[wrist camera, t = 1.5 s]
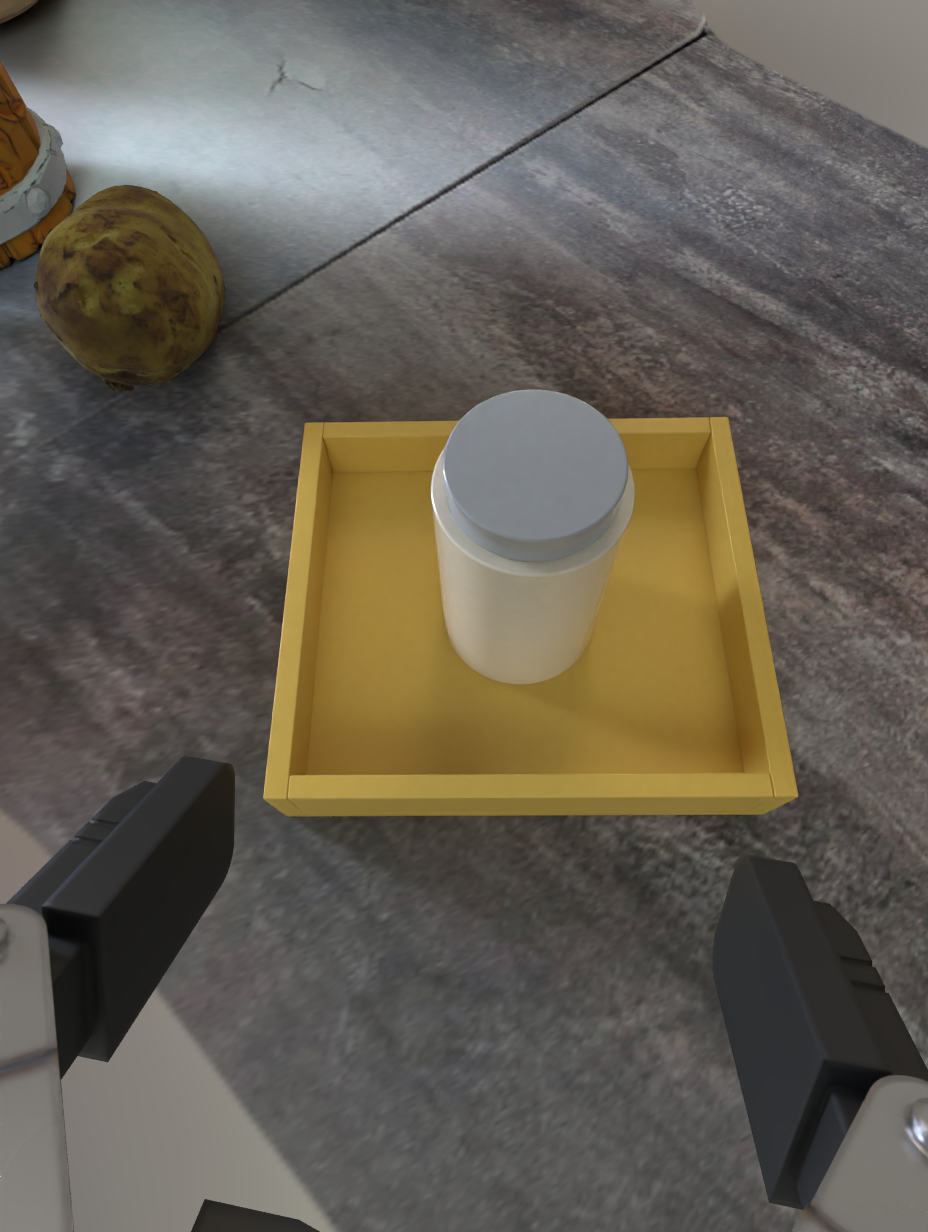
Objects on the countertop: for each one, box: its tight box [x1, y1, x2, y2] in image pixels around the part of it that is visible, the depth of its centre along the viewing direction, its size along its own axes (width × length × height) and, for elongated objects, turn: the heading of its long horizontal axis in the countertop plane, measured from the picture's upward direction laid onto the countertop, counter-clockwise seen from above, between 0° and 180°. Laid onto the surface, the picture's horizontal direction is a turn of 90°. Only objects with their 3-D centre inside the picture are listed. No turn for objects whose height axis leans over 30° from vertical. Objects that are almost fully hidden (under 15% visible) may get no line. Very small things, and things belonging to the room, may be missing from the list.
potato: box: [34, 185, 225, 392], centre depth 34 cm, size 8×13×8 cm, turn 174°
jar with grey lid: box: [431, 389, 635, 685], centre depth 26 cm, size 6×6×10 cm
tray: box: [263, 417, 798, 816], centre depth 29 cm, size 18×16×3 cm
